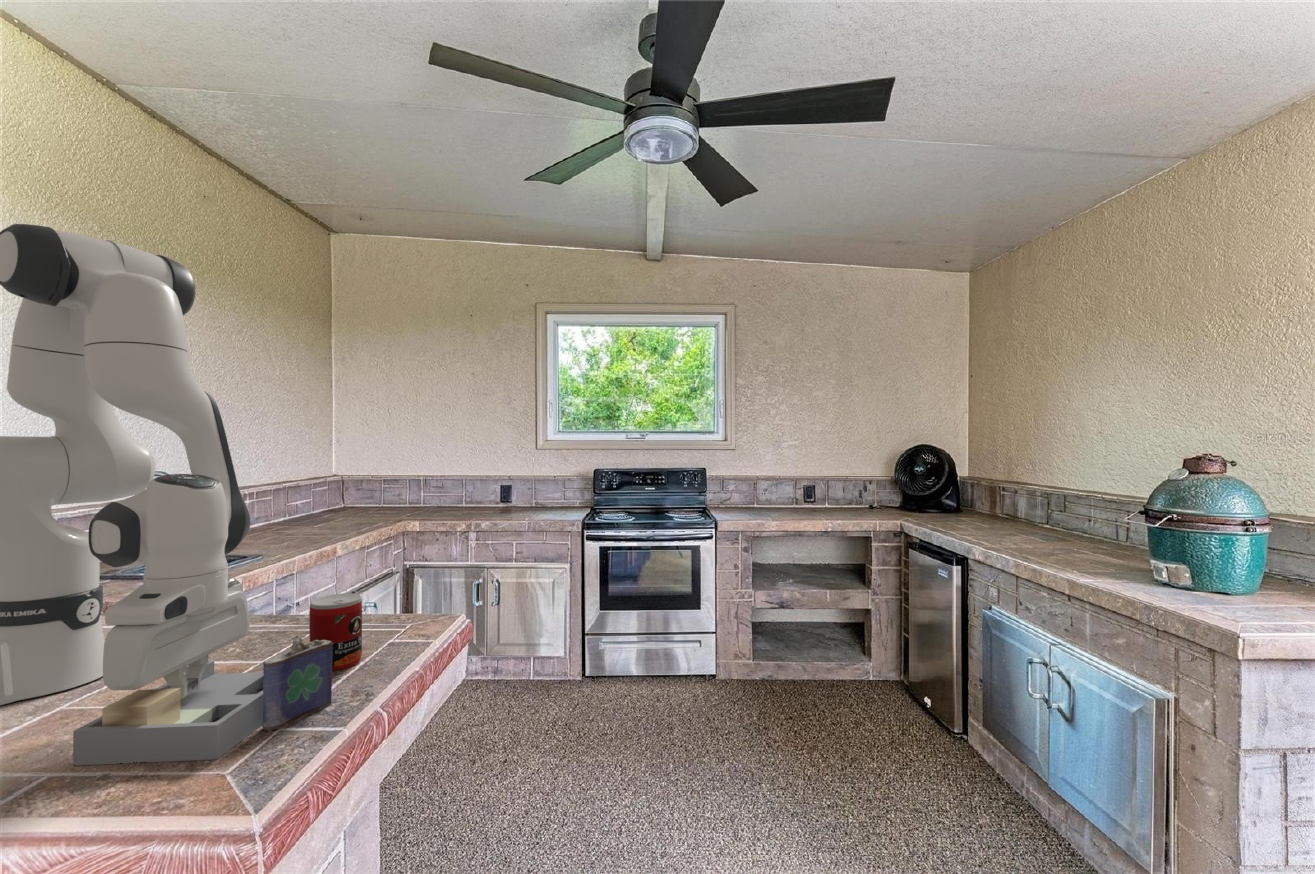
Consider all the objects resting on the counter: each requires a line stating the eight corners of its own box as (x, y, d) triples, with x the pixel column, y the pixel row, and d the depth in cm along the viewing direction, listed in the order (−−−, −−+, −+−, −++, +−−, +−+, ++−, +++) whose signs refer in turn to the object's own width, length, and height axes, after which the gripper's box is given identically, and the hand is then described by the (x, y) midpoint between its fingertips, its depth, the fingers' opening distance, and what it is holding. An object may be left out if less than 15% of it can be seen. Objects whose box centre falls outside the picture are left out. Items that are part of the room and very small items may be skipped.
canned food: (339, 674, 89) (339, 606, 89) (297, 671, 91) (297, 604, 91) (372, 656, 97) (372, 594, 97) (333, 653, 98) (333, 592, 98)
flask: (270, 734, 71) (270, 650, 71) (255, 729, 72) (256, 647, 72) (336, 703, 79) (336, 628, 79) (322, 699, 80) (323, 626, 81)
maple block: (102, 742, 65) (102, 708, 65) (138, 721, 70) (139, 689, 70) (146, 740, 65) (147, 706, 66) (180, 719, 70) (180, 688, 71)
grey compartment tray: (73, 765, 64) (73, 731, 64) (208, 687, 85) (208, 661, 85) (217, 759, 65) (217, 725, 65) (316, 683, 86) (316, 657, 86)
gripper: (220, 575, 86) (219, 664, 85) (90, 615, 65) (89, 733, 65) (261, 574, 86) (261, 663, 86) (146, 614, 65) (144, 731, 65)
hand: (186, 694), depth 75 cm, fingers closed
